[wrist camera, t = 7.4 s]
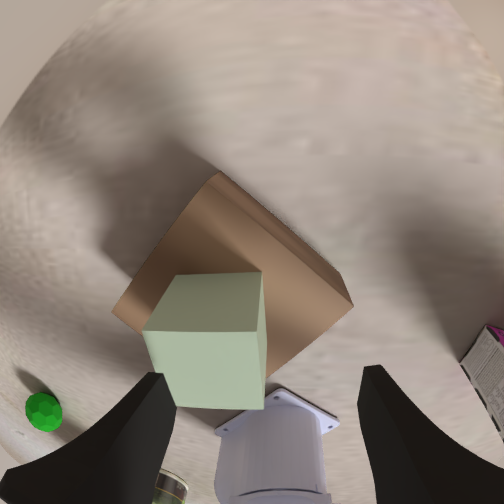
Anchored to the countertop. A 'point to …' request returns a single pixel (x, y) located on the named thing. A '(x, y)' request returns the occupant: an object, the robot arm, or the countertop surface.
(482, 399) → the candy bar box
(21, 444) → the countertop surface
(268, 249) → the walnut block
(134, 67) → the countertop surface
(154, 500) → the coffee can
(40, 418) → the polyhedron
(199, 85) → the countertop surface
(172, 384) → the sage block
